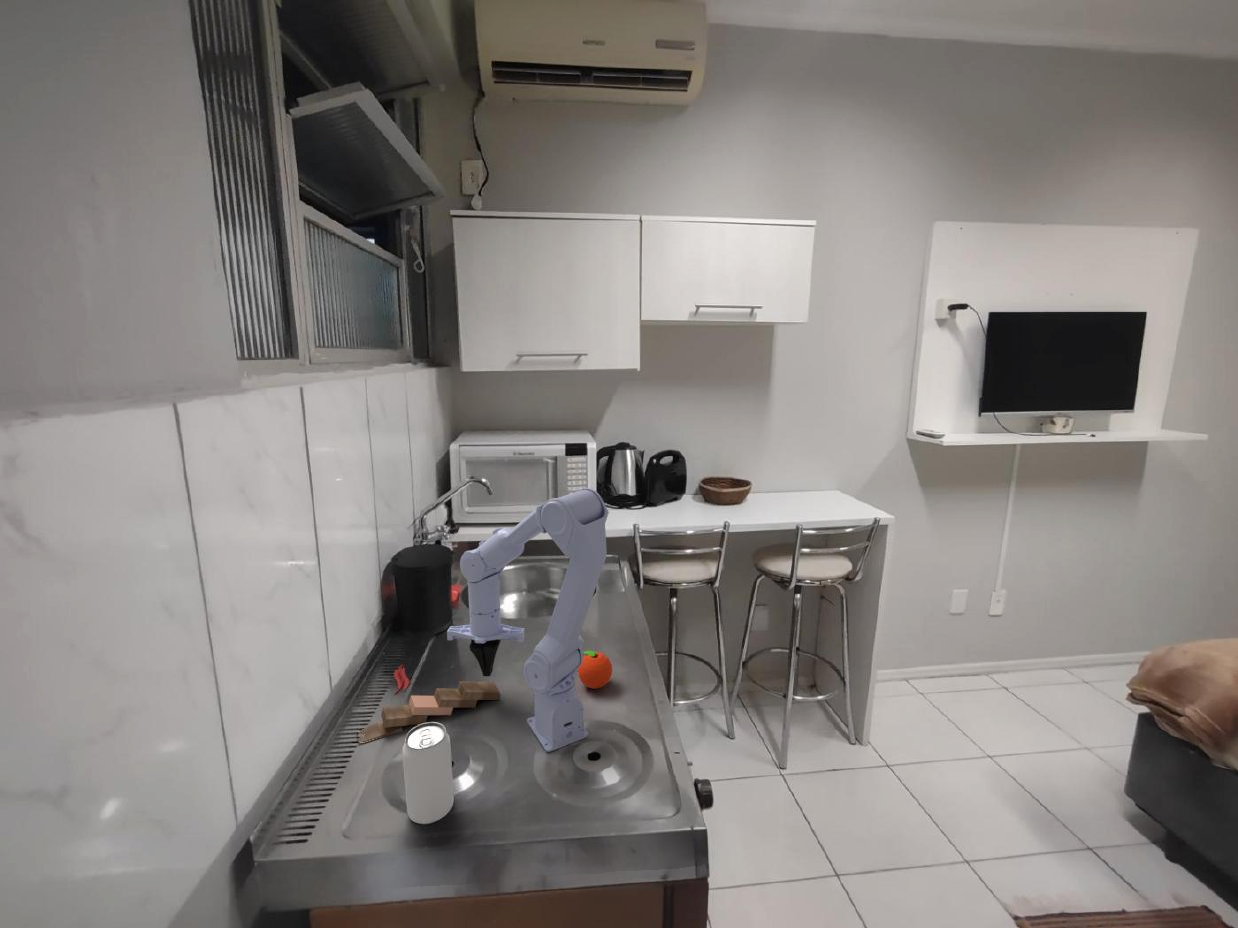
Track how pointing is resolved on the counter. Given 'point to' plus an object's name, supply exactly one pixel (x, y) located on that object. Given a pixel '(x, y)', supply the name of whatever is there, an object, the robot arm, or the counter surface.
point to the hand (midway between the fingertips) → (487, 673)
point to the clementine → (595, 669)
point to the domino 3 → (427, 706)
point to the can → (428, 773)
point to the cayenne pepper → (401, 678)
